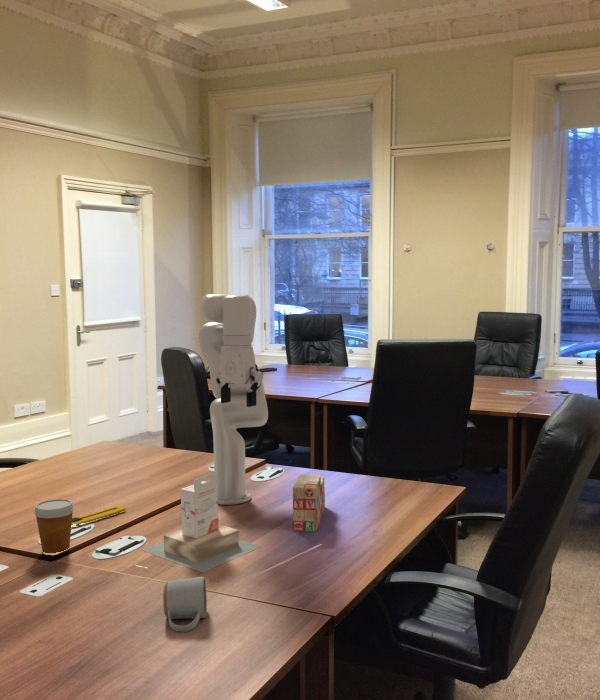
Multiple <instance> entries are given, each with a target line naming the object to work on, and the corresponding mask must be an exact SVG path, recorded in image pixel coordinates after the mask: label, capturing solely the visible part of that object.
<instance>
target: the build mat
mask: <svg viewBox="0 0 600 700" xmlns="http://www.w3.org/2000/svg"><path fill="white" fill-rule="evenodd" d="M260 548H262V546H261V545H257V544H254V543H251V542H249V541H244V540H241V539H239V546H237V547H234V548H232V549H230V550H227V551H225V552H222V553H220V554H218V555H215V556H213V557H210V558H208V559H206V560H203V561H201V562H198V563H196V562H193V561H191V560H188V559H185V558H182V557H179V556H177V555H174V554H171V553H168V552H165V551H164V541H162V542H159V543H156V544H154V545H151V546H148V547H146V548H143V549H141V551H144V552H146V553H148V554H151V555H154V556H155V557H156V556H157V557H159V558H162V559H164V560H167V561H170V562H173V563H175V564H178V565H181V566H184V567H187V568H189V569H191V570H194V571H198V572H199V573H204V572H207V571H210V570H212V569H213V568H217V567H218V566H222V565H223V564H226V563H228V562H229V561H232V560H235V559H237V558H239V557H242V556H243V555H246V554H249V553H250V552H254V551H255V550H258V549H260Z"/></svg>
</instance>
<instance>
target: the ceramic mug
mask: <svg viewBox="0 0 600 700" xmlns="http://www.w3.org/2000/svg"><path fill="white" fill-rule="evenodd" d="M162 595H163V596H162V600H163V601H162V602H163V603H162V605H163V612H164V617H165V618H167V619H168V623H169V624H168V625H169V627H170V628H171V629H172V630H173V629H174V631H175V630H177V631H176V632H179V631H186V632H189V631H191V630H193V629H194V628H196V626H197V624H198V623H199V621H200V619H205V618H207V613H208V612H207V611H208V609H207V606H208V603H207V602H208V601H207V598H208V597H207V584H206V577H204V576H198V577H190V578H181V579H175V580H170V581H167V582H166V583H165V584H164V585H163V594H162ZM179 619H181V620H183V619H193V620H192V621H191V622H189V623H188V624H185V625H178V624H175V623H174V622H173V621H172V620H179Z"/></svg>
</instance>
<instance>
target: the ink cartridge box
mask: <svg viewBox="0 0 600 700" xmlns="http://www.w3.org/2000/svg"><path fill="white" fill-rule="evenodd" d="M205 480H206V481H205ZM207 480H208V481H207ZM180 508H181V509H180V510H181V512H180V513H181V529H182V535H185V536H189V537H192V538H198V537H201V536H203V535H205V534H207V533H210V532H212V531H214V530H216V529H218V528H219V525H218V524H219V504H218V488H217V479H216V473H215V472H214V471H213V472H211V473H208V474H207V473H206V474H204V475H202V476H200V477H197V478H193V484H191V485H189V486H186V487H183V488H180Z"/></svg>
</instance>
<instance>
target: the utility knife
mask: <svg viewBox="0 0 600 700" xmlns="http://www.w3.org/2000/svg"><path fill="white" fill-rule="evenodd" d="M125 510H126V511H127V509H126V506H125V505H117V506H111V507H108V508H104V509H103V510H99V511H95V512H93V513H90V514H85V515H81V516H78V517H77V516H76V517H72V524H71V525H73V524H81V523H86V522H90V521H93V520H96V519H99V518H103V517H107V516H111V515H114V514H117V513H120V512H122V511H125Z"/></svg>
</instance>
